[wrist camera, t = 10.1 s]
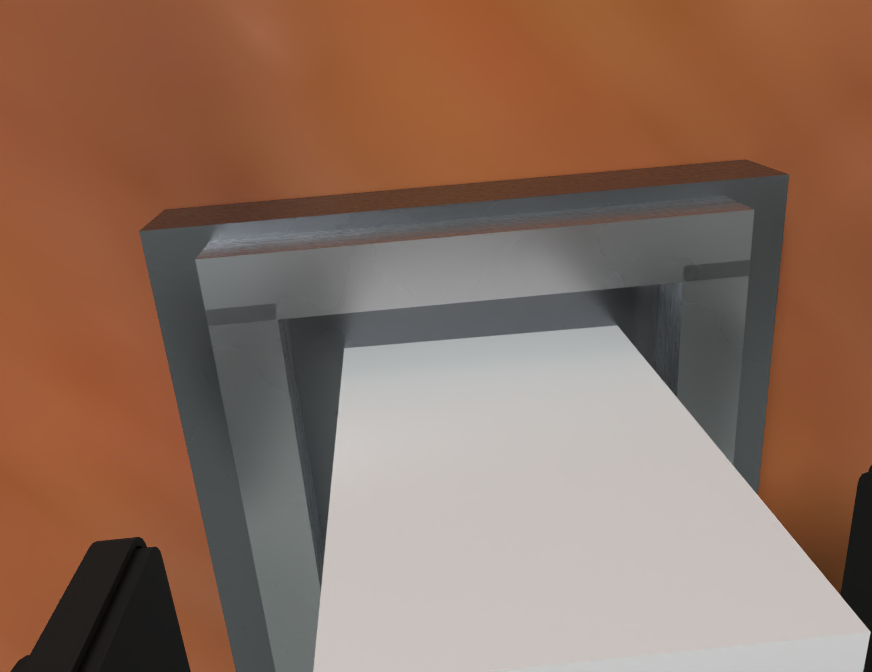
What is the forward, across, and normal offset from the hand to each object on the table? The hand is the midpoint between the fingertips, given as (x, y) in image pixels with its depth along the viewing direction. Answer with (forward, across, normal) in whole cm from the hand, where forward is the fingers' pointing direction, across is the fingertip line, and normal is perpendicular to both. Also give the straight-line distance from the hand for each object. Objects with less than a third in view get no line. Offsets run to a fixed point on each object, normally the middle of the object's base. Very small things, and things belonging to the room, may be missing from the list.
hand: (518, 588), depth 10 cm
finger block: (+3, 0, 0) cm, 3 cm away
